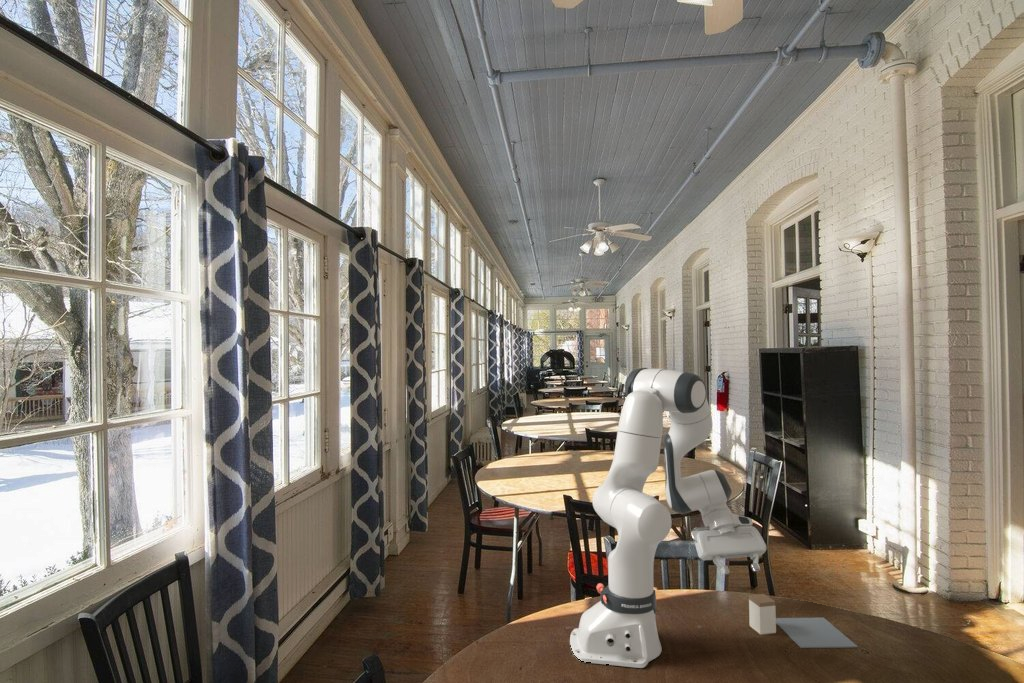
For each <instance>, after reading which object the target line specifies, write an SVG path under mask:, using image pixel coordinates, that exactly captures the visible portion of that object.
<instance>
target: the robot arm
mask: <svg viewBox="0 0 1024 683" xmlns="http://www.w3.org/2000/svg"><path fill="white" fill-rule="evenodd" d="M624 393H625V400H624V402H623V405H622V409H621V411H620V417H619V420H618V425H617V431H616V439H615V447H614V452H613V458H612V462H611V465H610V468H609V471H608V473H607V475H606V477H605V479H604V480H603V482H602V483H601V484H600V485H599V486H598V487H597V488H596V489H595V490H594V492H593V496H592V507H593V509H594V511H595V513H596V514H597V515H598V516H599V518H600V519H601V520H602V521H603V522H604V523H606V524H607V525H609V526H610V527H612V528H614V529H616V531H617V542H616V545H615V547H614V549H613V550H611V551H610V552H609V554H608V557H607V570H608V571H607V572H608V584H607V585H606V586H605V585H604V584H603V583H601V582H600V583H597V585H596V587H595V588H596V590H597V593H598V594H600V601H598V602H597V603H595V604H594V605H592V606H591V607H590V608H588V609H586V610H585V611H584V612H583V613H582V614H581V616H580V618H579V619H580V620H579V624H578V627H577V628H573V630H572V631H571V633H570V637H569V646H570V645H571V647H570V649H571V648H572V650H571V652H572V651H573V653H574V654H573V653H572V654H573V656H574V655H575V656H576V657H577V658H578V659H580V660H581V661H584V662H583V663H586V662H591V663H590V664H596V665H606V664H609V665H608V666H618V667H627V668H636V669H637V668H638V669H643V668H645V667H646V666H648V664H649V662H651V661H654V659H657V657H659V656H660V655H661V653H662V645H661V641H660V638H659V634H658V627H657V620H656V612H657V611H656V609H657V595H656V590H655V589H654V563H655V555H656V552H657V548H658V546H659V544H660V543H662V542H663V541H664V540H665V539H667V537H668V535H669V534H670V531H671V529H672V523H673V522H672V516H671V513H670V511H669V509H668V508H667V507H666V506H665V505H664V504H663V503H661V502H660V501H659V500H658V499H657V498H655V497H654V496H652V495H649V494H647V493H645V492H644V490H643V489H644V486H645V484H646V483H647V479H648V478H649V476H650V475H651V474H653V473H655V472H656V470H657V469H658V467H659V461H660V455H661V447H662V446H661V445H662V439H663V461H664V462H663V463H664V474H665V475H664V476H665V478H664V479H665V485H664V486H665V489H664V491H665V492H664V495H665V500H666V502H667V505H668V507H669V508H670V509H671V510H672V511H674V512H675V513H677V514H680V515H686V514H689V513H691V512H693V511H696V510H698V511H699V512H700V514H701V519H702V522H703V525H704V526H700V527H699V526H697V527H696V526H695V527H694V528H692V530H691V532H690V534H691V537H692V541H694V545H695V548H696V553H697V556H698V558H699V559H700V560H702V561H712V563H713V564H714V565H715V566H716V567H717V568H718V569H720V572H721V574H722V575H729V574H730V568H729V566H728V565H725V564H724V563H723V562H722V561H721V560H726V559H736V558H747V557H749V558H750V560H752V563H751V565H750V568H751V570H752V572H759V571H760V570H761V567H760V564H759V557H760V556H762V555H763V554H765V553H766V551H767V549H768V548H767V544H766V543H765V540H764V538H763V536H762V535H761V533H760V531H759V530H758V529H757V528H756V527H755V526H753V523H754V522H753V519H751V518H750V517H748V516H743V515H740V514H739V515H738V514H736V513H733V512H732V510H731V509H730V508H729V507H728V505H727V503H728V502H729V500H730V498H731V495H732V489H731V487H730V484H729V482H728V480H727V478H726V477H725V475H724V473H722V472H720V471H719V470H716V469H709V470H705V471H702V472H699V473H695V474H692V475H689V476H685V477H684V476H683V477H682V474H681V472H682V471H681V461H682V459H683V457H684V456H685V455H687V454H688V453H689V452H690V451H692V450H693V449H694V448H696V447H698V446H699V445H701V444H702V443H704V442H705V441H706V440H707V439H708V438H709V436H710V435H711V433H712V430H713V417H712V413H711V409H710V405H709V402H708V399H707V386H706V383H705V381H704V380H703V379H702V377H701V376H700V375H697V374H694V373H692V372H689V371H685V372H683V371H679V370H673V369H667V368H648V367H641V368H636V369H633V370H632V371H631V372H630V373H629V374H628V375H627V377H626V379H625V382H624ZM663 412H668V414H669V419H670V427H669V430H668V433H667V434H665V436H664V438H662V437H663V430H664V428H663V426H664V413H663ZM575 656H574V657H575ZM576 657H575V658H576ZM577 658H576V659H577ZM578 659H577V660H578ZM580 660H579V661H580ZM581 661H580V662H581Z"/></svg>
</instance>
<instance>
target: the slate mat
mask: <svg viewBox="0 0 1024 683" xmlns="http://www.w3.org/2000/svg"><path fill="white" fill-rule="evenodd" d="M776 626H779V628H780V629H781V630H782V631H783V632H784V633H785V634H787V636H788V637H789V638H790V639H791V640H792V641H794V643H795V644H796V645H797V646H798V647H799V648H800V649H826V648H827V649H829V648H830V649H833V648H834V649H837V648H839V649H840V648H843V649H844V648H859V646H858V645H857V644H856V643H855V642H853V641H852V640H851V639H849V637H847V635H845V634H844V633H843V632H842V631H840V630H839V629H838V628H836V627H835V626H834V625H833V624H832V623H831V622H830V621H828V620H827V619H826V618H825V617H776Z"/></svg>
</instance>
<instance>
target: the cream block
mask: <svg viewBox="0 0 1024 683" xmlns="http://www.w3.org/2000/svg"><path fill="white" fill-rule="evenodd" d="M748 611H749V612H748V613H749V614H748V615H749V619H748V620H749V627H751V628H752V629H753V630H754V631H756V632H757V633H758V634H759V635H768V634H770V635H771V634H776V633H777V624H776V618H777V616H776V612H777V611H776V601H775V600H773V599H772V598H771V597H769V596H768V595H766V594H765V593H761V594H760V593H758V594H749V595H748Z"/></svg>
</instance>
